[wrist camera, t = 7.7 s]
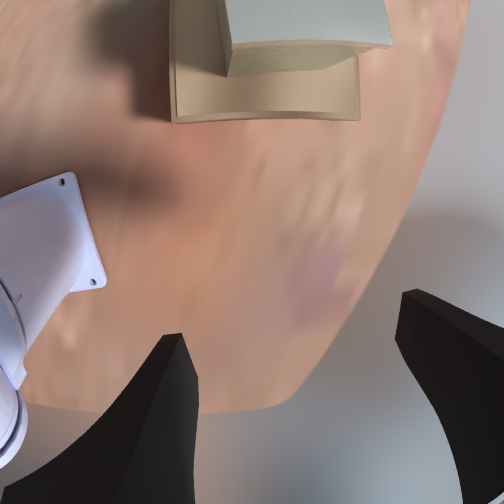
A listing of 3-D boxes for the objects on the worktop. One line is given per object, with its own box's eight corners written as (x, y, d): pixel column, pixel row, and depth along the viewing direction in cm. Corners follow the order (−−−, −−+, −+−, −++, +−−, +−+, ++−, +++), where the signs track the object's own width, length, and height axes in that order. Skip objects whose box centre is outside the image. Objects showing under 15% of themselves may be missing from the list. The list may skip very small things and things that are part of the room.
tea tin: (224, 79, 12) (232, 44, 6) (211, -6, 10) (211, -76, 4) (325, 71, 12) (393, 45, 6) (309, -10, 10) (360, -68, 4)
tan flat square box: (182, 124, 16) (171, 123, 12) (179, -8, 12) (170, -37, 8) (332, 120, 17) (361, 120, 13) (324, -5, 13) (348, -30, 9)
